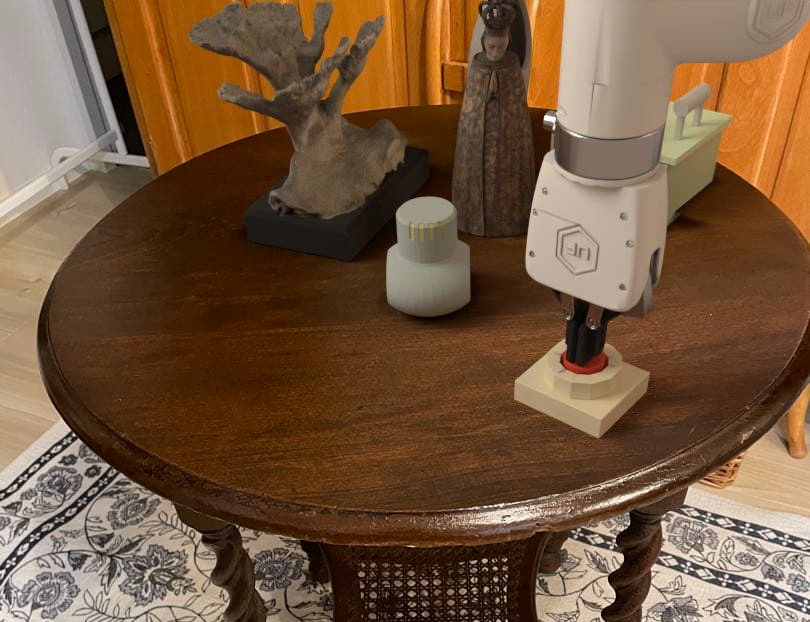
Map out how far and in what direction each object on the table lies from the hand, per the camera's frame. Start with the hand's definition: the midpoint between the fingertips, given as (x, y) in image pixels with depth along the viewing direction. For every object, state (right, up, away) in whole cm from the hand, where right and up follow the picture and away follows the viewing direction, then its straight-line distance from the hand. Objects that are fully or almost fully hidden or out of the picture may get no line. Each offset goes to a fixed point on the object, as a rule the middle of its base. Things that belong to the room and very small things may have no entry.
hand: (583, 355), depth 75 cm
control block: (0, -3, +3) cm, 5 cm away
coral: (-26, +24, +30) cm, 46 cm away
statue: (-5, +20, +25) cm, 32 cm away
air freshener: (-13, +9, +15) cm, 22 cm away
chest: (+11, +25, +28) cm, 39 cm away
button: (0, -1, +1) cm, 2 cm away
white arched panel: (-3, +35, +38) cm, 51 cm away
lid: (+11, +30, +21) cm, 39 cm away
